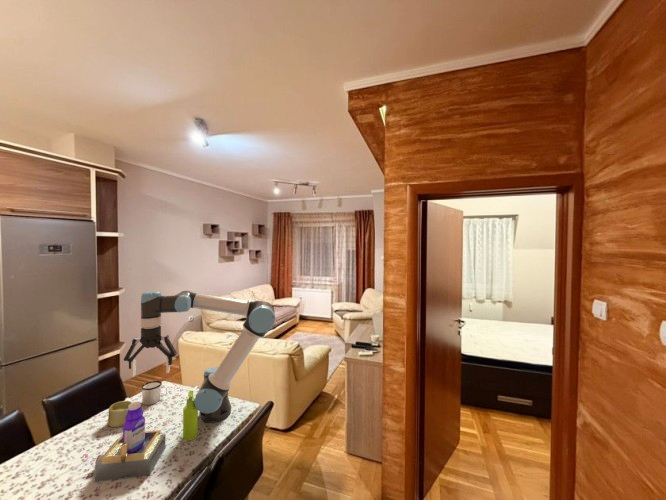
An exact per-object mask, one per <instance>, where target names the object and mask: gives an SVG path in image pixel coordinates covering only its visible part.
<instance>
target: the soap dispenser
mask: <svg viewBox="0 0 666 500" xmlns="http://www.w3.org/2000/svg"><path fill="white" fill-rule="evenodd" d="M187 394H188V398H187V399H186V405H185V406H184V407H183V408H182V409H183V410H182V412H183V413H182V414H183V415H182V416H183V417H182V440H183V441H187V442H188V441H192V440H195V439H196V438H197V437H198V431H199V429H198V428H199V426H198V425H199V420H198V419H199V416H198V415H199V411H198V410H197V408H196V407H195V397H194V390H190V391H189V390H188V393H187Z"/></svg>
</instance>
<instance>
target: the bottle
mask: <svg viewBox="0 0 666 500" xmlns="http://www.w3.org/2000/svg"><path fill="white" fill-rule="evenodd" d="M125 419H126V421H125V423H124V425H122V434H123V444H124V443H127V453H133V452H135V451H137V450H138V449H139V448H141V447H142V445H143V444H144V442H145V431H146V418H145V416H144V411H143V409H142V401H133V402H132V403H131V404H129V405H128V413H127V415H126V417H125Z"/></svg>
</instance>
